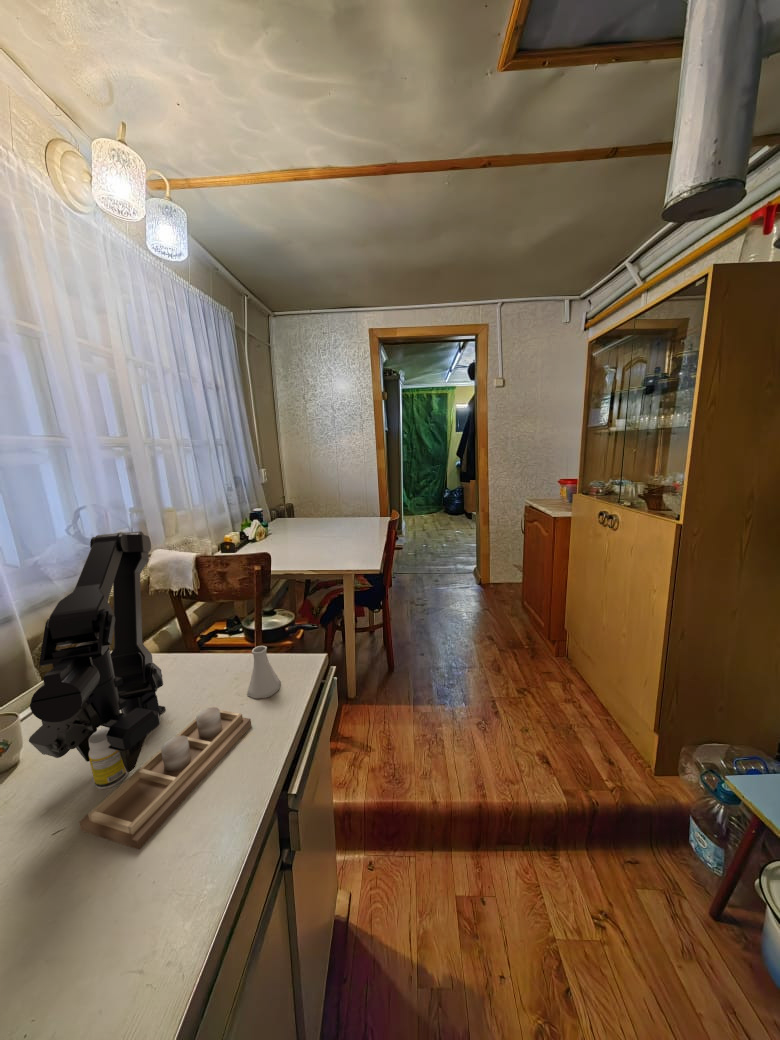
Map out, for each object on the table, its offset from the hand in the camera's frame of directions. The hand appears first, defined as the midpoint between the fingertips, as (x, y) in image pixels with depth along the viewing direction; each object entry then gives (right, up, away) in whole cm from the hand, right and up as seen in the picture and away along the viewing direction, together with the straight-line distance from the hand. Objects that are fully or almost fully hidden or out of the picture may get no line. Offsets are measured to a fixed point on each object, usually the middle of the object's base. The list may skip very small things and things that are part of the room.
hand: (110, 764), depth 63 cm
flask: (+18, +2, +23) cm, 29 cm away
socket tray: (+11, -2, +1) cm, 11 cm away
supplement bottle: (0, -3, 0) cm, 3 cm away
